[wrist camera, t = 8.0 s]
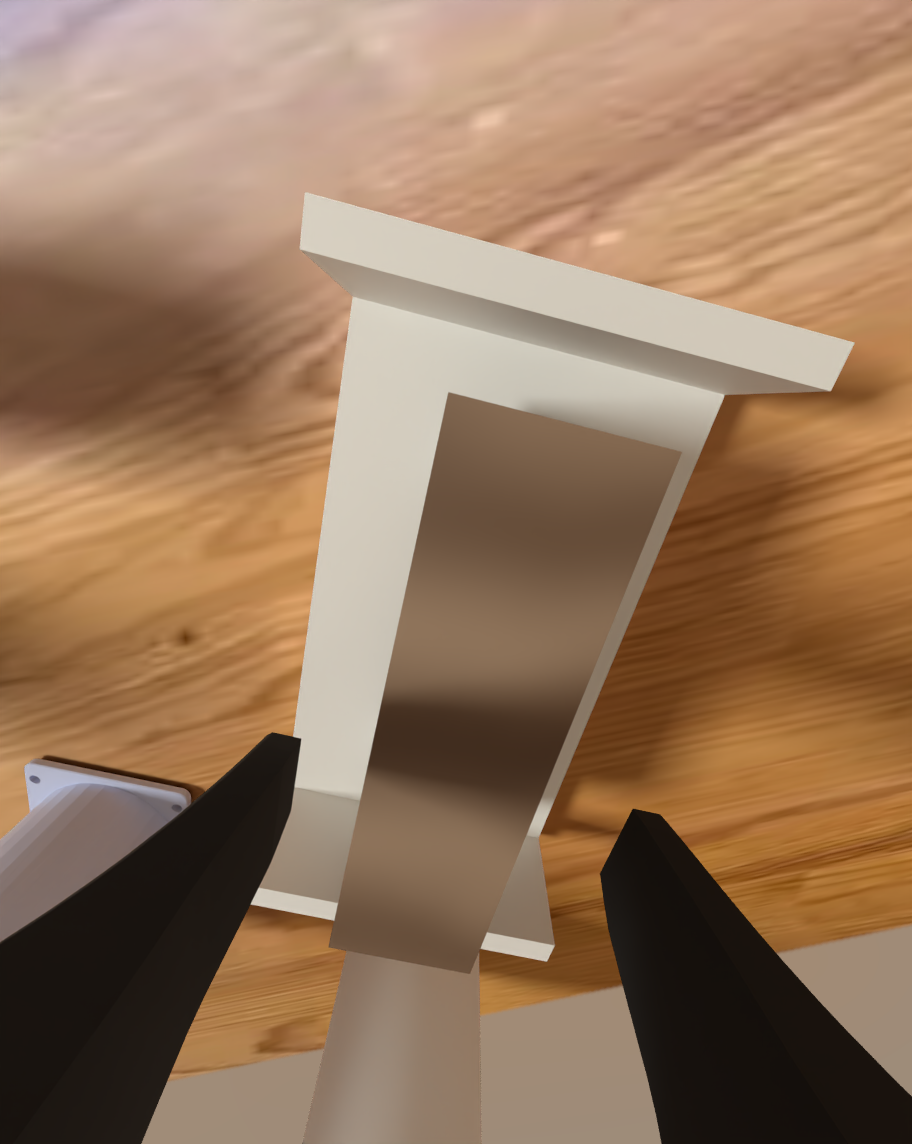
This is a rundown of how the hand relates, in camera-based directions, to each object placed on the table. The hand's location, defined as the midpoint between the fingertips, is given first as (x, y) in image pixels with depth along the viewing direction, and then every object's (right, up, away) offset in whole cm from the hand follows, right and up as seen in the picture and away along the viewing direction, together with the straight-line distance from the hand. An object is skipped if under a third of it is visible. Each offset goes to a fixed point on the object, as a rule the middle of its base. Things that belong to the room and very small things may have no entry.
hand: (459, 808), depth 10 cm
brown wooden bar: (0, +2, +6) cm, 6 cm away
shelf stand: (0, +3, +9) cm, 10 cm away
